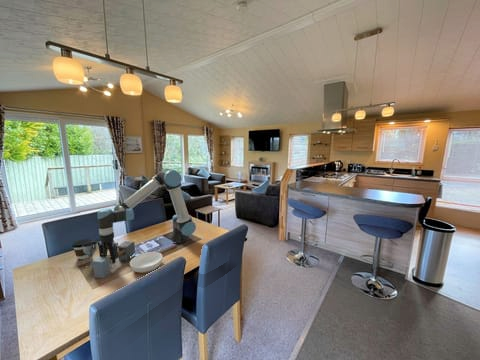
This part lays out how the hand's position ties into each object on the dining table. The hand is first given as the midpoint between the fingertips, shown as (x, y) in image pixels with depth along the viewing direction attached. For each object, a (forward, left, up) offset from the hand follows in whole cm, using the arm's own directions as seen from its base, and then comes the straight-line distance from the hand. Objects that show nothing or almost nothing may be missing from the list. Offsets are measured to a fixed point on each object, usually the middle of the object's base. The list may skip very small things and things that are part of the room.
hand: (110, 267), depth 126 cm
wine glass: (+17, -3, -2) cm, 17 cm away
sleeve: (0, -15, -2) cm, 15 cm away
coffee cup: (+31, -9, -2) cm, 32 cm away
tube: (0, -3, +3) cm, 4 cm away
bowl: (-22, -7, -2) cm, 23 cm away
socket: (0, +6, -2) cm, 6 cm away
